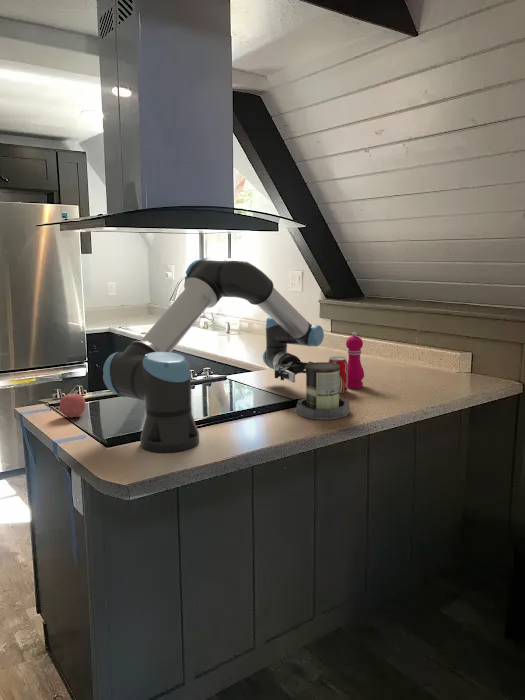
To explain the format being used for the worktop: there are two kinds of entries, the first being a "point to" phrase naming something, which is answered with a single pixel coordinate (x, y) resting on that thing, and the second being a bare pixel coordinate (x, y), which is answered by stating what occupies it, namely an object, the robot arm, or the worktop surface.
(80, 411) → the apple
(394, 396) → the worktop surface
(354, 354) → the pepper mill
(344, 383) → the soda can
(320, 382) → the coffee can
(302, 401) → the ring
